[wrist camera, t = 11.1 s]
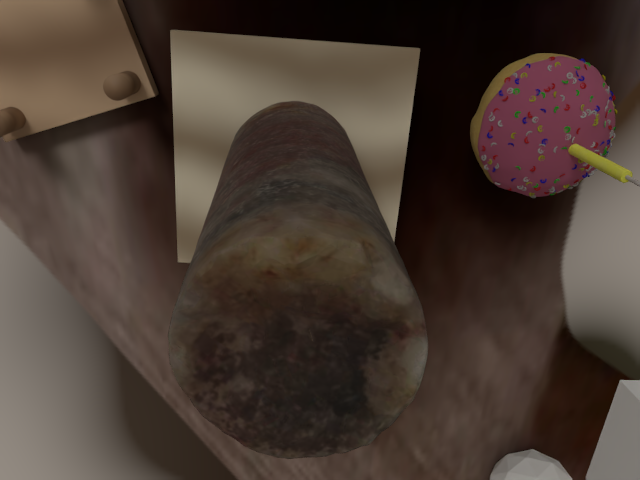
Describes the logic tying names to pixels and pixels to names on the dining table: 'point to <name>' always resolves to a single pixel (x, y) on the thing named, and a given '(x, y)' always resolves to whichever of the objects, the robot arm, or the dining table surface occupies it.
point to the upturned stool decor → (66, 63)
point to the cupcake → (545, 126)
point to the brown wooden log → (297, 296)
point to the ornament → (528, 467)
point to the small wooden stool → (282, 86)
